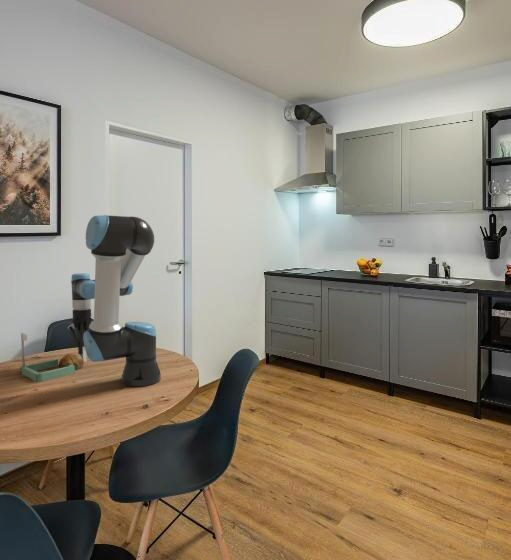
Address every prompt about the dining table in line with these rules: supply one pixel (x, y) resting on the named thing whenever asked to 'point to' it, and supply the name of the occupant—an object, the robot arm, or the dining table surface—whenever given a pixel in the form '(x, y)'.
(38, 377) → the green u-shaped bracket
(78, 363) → the bread roll
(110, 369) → the dining table surface
